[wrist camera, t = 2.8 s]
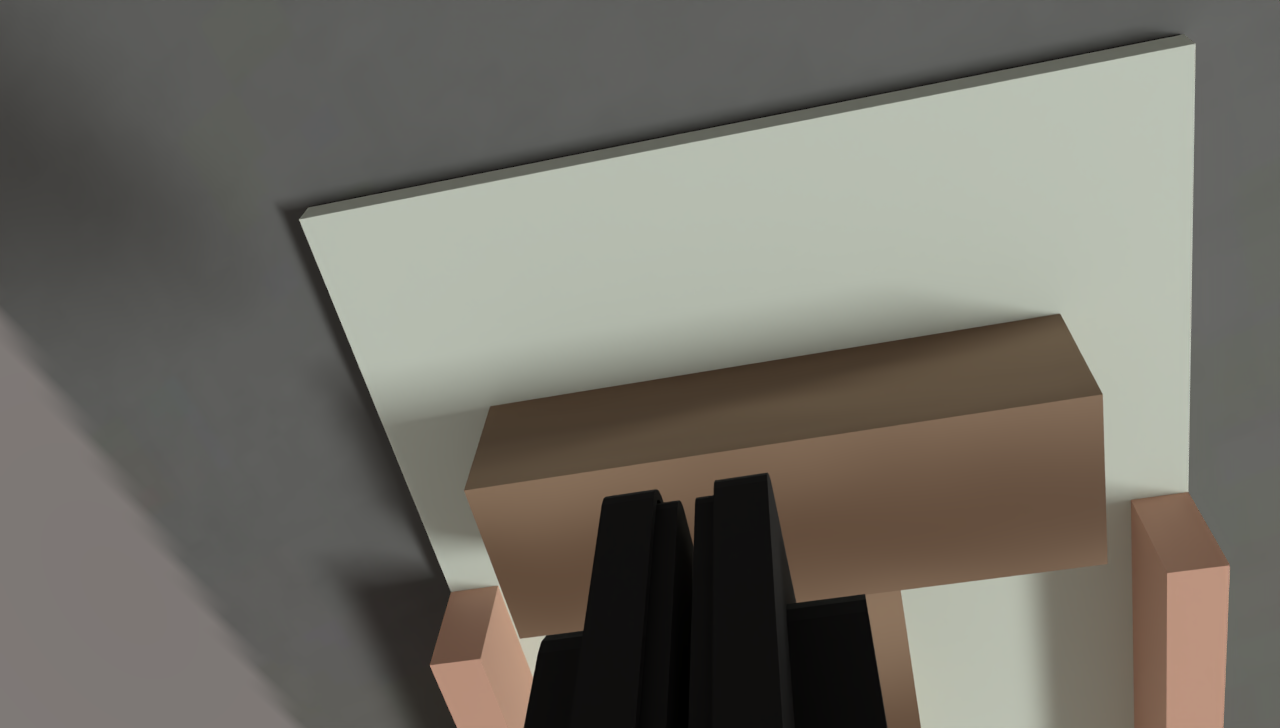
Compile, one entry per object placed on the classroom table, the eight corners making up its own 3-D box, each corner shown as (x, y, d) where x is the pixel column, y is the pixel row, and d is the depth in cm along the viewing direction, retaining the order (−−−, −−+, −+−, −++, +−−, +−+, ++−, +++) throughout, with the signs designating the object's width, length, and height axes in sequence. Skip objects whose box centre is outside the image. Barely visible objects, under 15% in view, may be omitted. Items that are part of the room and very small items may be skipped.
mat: (308, 207, 23) (298, 219, 23) (1183, 34, 21) (1195, 43, 20) (623, 992, 37) (621, 1010, 37) (1173, 952, 34) (1180, 971, 34)
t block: (490, 406, 25) (463, 490, 22) (1059, 313, 23) (1102, 394, 20) (618, 773, 31) (608, 873, 28) (1080, 724, 29) (1115, 827, 26)
